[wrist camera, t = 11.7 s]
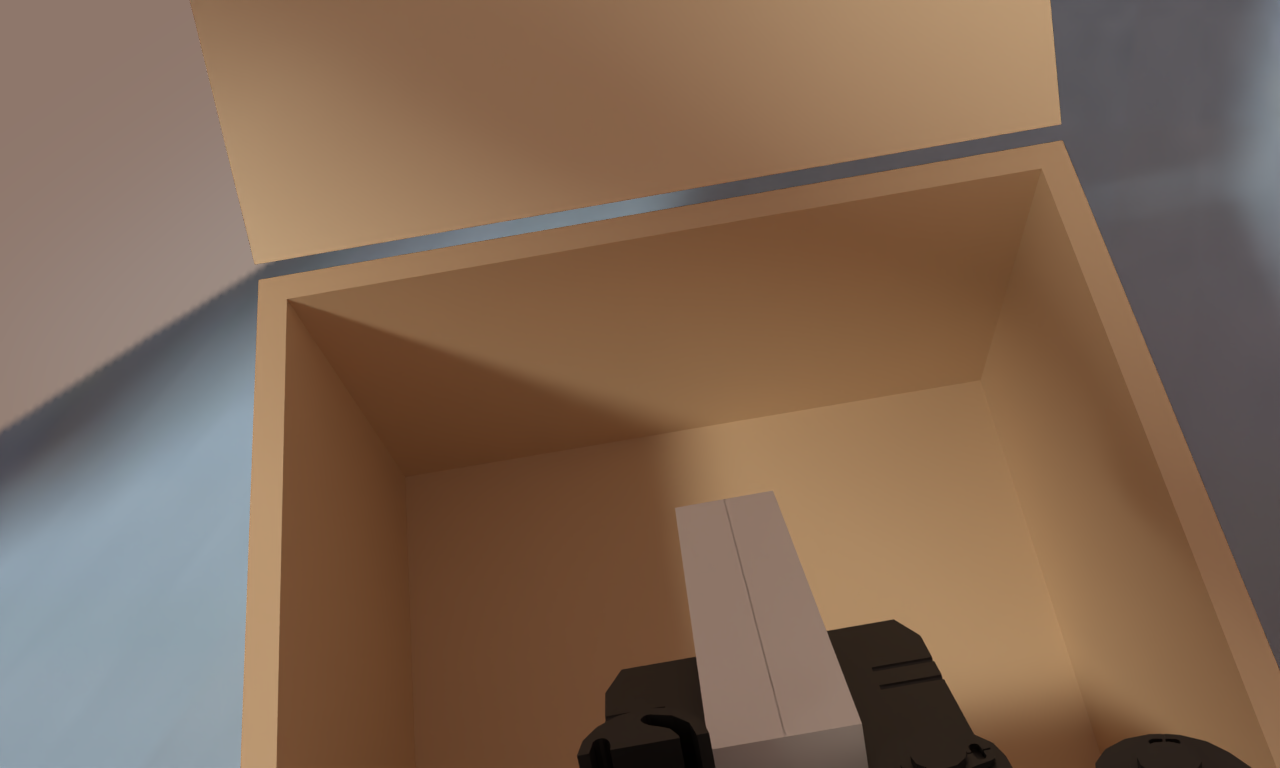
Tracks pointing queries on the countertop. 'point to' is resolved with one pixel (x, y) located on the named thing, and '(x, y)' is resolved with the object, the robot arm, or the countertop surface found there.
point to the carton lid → (587, 101)
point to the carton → (734, 473)
